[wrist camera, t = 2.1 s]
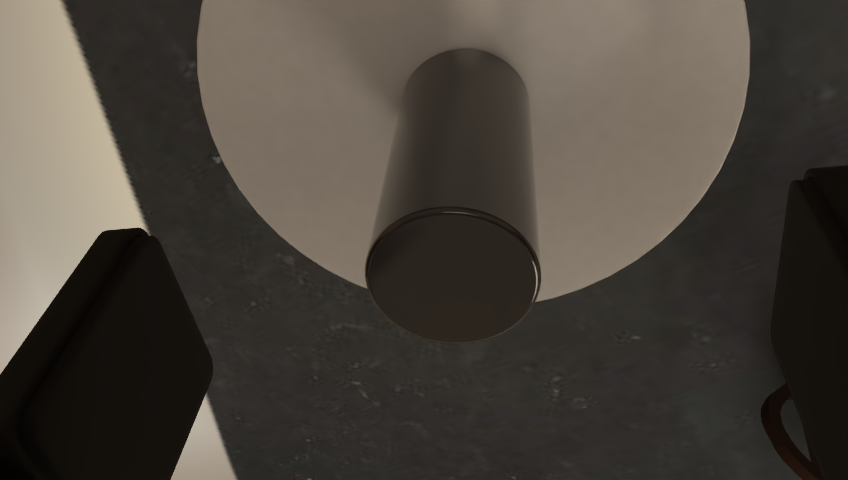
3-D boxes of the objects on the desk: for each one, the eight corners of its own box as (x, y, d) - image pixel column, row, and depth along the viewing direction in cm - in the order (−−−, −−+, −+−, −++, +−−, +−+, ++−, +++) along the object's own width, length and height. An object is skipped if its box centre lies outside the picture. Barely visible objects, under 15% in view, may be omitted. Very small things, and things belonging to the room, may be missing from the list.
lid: (106, 38, 17) (-75, 215, 11) (534, -379, 12) (560, -401, 7) (429, 341, 21) (406, 566, 16) (828, 129, 17) (979, 349, 11)
